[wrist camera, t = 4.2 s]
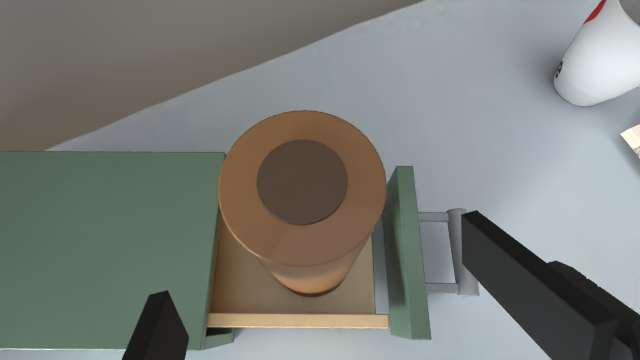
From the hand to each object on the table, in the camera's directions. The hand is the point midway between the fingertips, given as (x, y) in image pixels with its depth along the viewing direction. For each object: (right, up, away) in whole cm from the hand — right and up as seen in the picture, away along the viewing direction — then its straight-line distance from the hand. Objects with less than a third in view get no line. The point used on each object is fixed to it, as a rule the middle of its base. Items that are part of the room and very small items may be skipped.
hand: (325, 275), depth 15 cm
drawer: (+1, -2, +13) cm, 13 cm away
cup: (+27, +14, +20) cm, 36 cm away
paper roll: (-1, -2, +12) cm, 12 cm away
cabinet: (-15, -3, +14) cm, 20 cm away
